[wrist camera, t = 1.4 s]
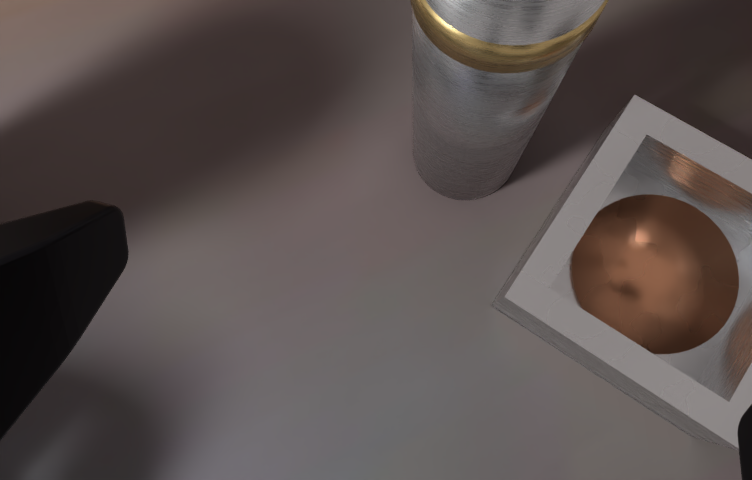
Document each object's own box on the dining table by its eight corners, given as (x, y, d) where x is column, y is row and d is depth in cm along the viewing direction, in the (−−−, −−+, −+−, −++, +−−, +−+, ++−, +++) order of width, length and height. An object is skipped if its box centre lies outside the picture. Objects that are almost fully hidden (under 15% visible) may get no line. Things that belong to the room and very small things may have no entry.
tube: (481, 221, 21) (582, 24, 8) (390, 165, 22) (358, -97, 9) (538, 134, 22) (715, -174, 9) (448, 82, 22) (494, -274, 10)
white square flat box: (692, 436, 19) (744, 452, 16) (491, 305, 21) (504, 297, 18) (802, 244, 20) (870, 225, 17) (603, 131, 22) (634, 94, 19)
